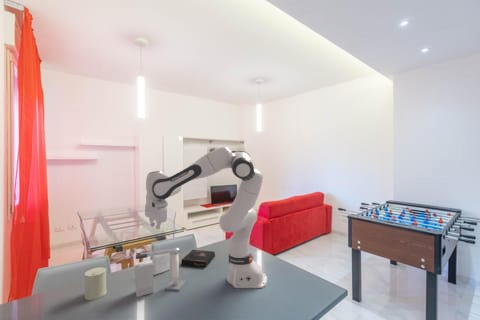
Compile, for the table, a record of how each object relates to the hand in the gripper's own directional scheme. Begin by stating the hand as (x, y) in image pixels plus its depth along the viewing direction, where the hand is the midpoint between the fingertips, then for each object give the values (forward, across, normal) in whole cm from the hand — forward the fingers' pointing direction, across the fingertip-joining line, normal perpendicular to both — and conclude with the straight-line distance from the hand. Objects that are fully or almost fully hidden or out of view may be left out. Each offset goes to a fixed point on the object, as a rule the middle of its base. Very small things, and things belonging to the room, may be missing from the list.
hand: (155, 227), depth 119 cm
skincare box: (+31, +2, -6) cm, 32 cm away
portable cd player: (+32, -10, +34) cm, 47 cm away
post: (+31, +7, +8) cm, 33 cm away
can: (+31, -14, -25) cm, 42 cm away
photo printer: (+31, -13, +9) cm, 35 cm away
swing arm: (+13, +4, 0) cm, 14 cm away
